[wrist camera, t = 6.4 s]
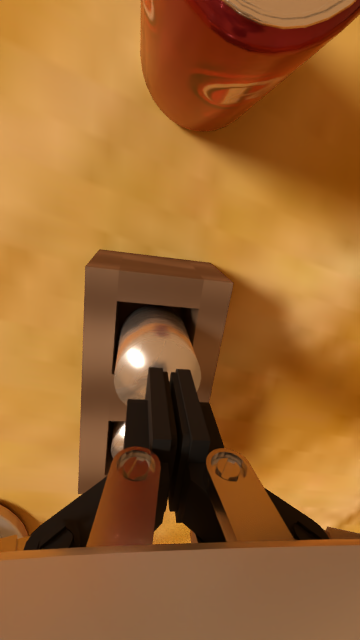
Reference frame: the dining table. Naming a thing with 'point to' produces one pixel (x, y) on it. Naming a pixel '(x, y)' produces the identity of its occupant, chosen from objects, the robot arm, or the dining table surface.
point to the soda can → (229, 52)
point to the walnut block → (105, 326)
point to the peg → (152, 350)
